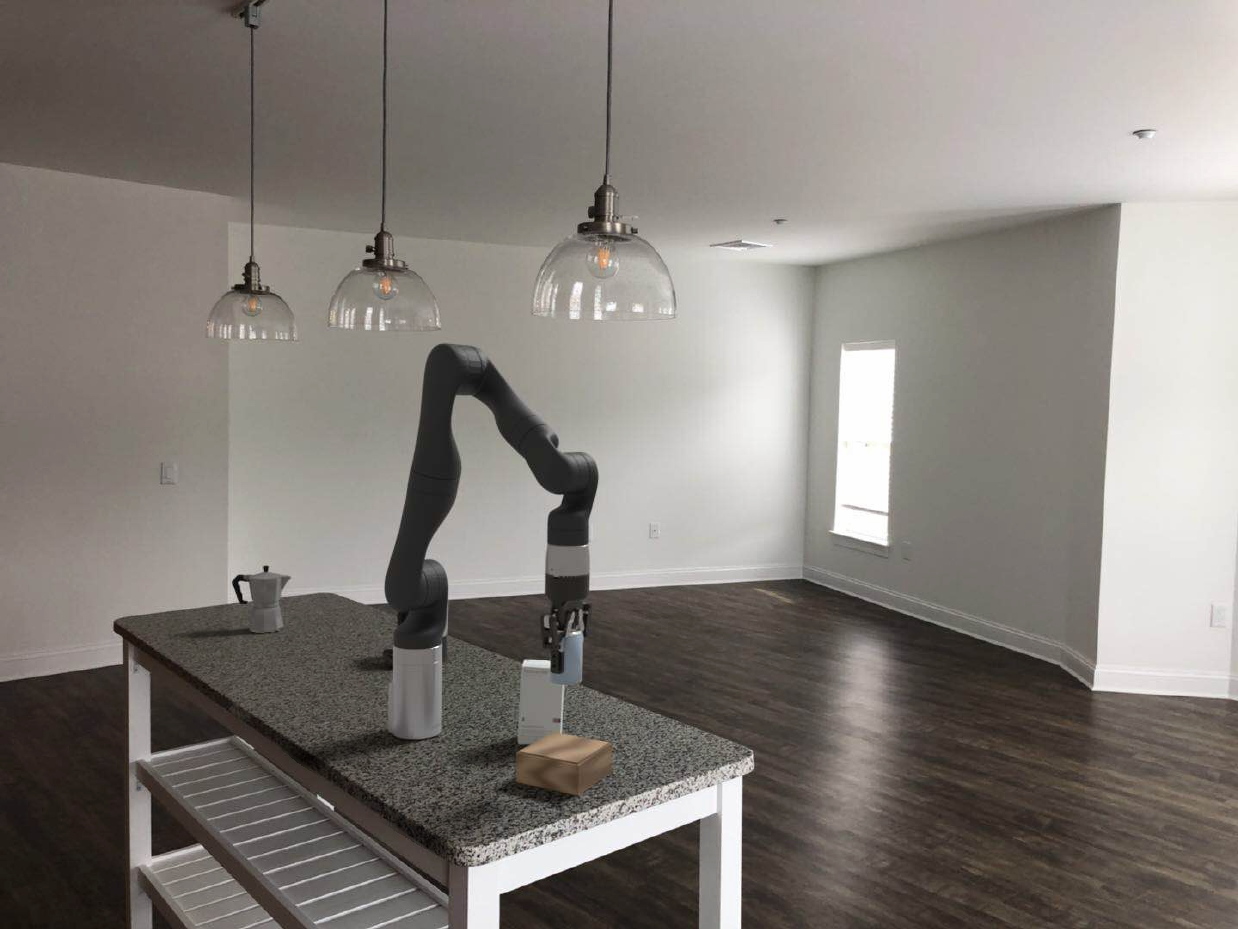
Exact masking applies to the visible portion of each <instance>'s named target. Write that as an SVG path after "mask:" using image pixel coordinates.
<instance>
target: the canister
mask: <svg viewBox="0 0 1238 929" xmlns="http://www.w3.org/2000/svg"><path fill="white" fill-rule="evenodd" d="M557 632H560V633H562V632H564V631H557ZM559 642H560V637H558V643H559ZM583 643H584V642H583V633H581V631H580V630H574V629H571V630H570V635H569V638H568V639H566V640H565V647H564V651H563V652H564V672H563V673H562V674H555V673H552V672H551V671H550V681H551V682H552V683H555V684H560V685H564V686H571V685H577V684H580V683H581V682H582V681H583V646H584V645H583ZM549 661H550V663H551V655H550V659H549Z"/></svg>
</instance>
